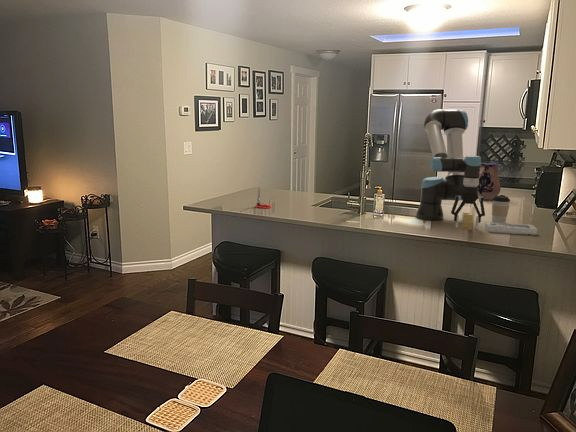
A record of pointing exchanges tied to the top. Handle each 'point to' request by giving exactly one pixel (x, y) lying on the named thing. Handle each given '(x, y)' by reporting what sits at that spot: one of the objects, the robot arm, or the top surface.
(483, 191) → the ceramic pitcher
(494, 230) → the grey tray
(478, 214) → the robot arm
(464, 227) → the yellow rectangular block
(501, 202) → the coffee cup
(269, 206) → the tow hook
